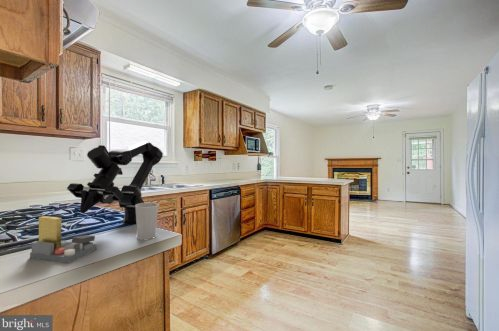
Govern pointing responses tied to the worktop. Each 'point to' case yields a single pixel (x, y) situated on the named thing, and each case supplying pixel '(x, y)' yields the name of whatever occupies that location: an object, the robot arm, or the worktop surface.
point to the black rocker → (83, 239)
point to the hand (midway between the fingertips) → (81, 212)
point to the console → (61, 251)
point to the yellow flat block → (50, 230)
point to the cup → (146, 220)
